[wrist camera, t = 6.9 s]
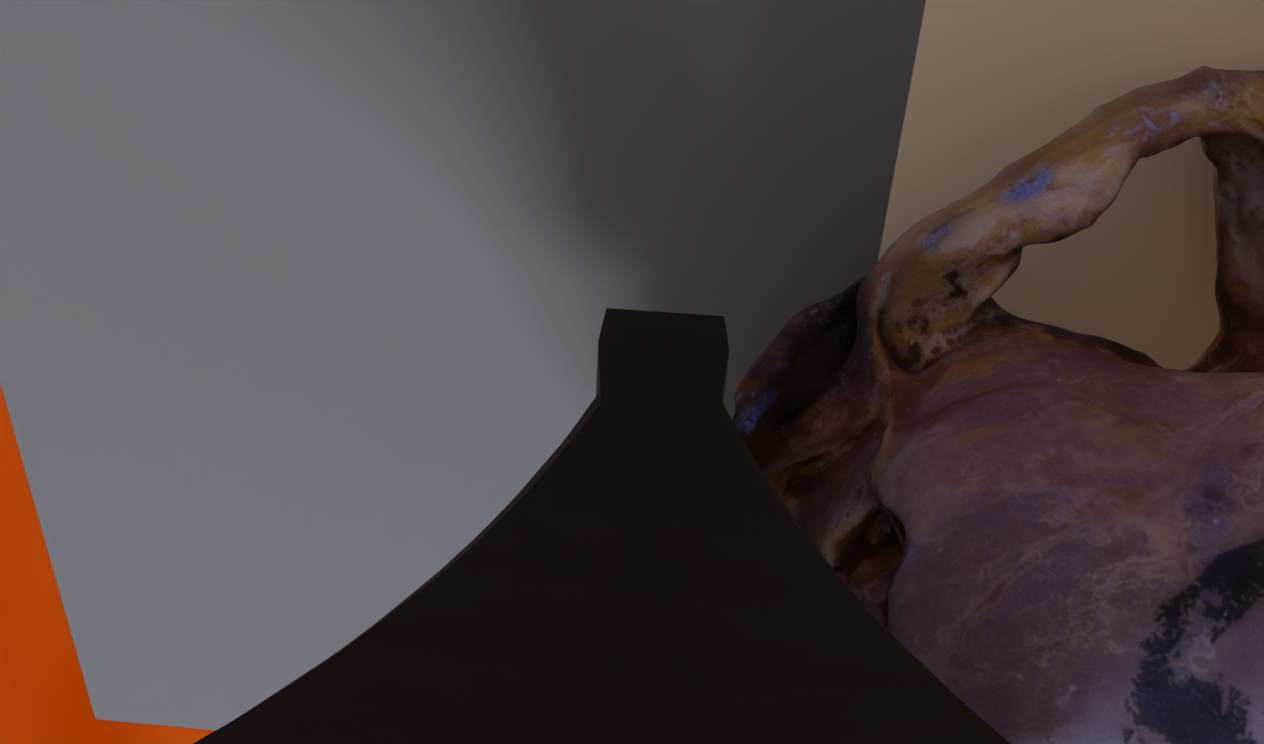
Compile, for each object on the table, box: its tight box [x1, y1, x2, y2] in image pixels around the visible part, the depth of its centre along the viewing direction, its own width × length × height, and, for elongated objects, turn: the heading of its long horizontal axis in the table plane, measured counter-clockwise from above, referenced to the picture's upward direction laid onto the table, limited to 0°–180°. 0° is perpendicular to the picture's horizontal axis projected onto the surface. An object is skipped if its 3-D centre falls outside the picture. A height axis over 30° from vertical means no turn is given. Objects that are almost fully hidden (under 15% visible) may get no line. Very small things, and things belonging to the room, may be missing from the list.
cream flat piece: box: [0, 0, 1264, 730], centre depth 10 cm, size 18×14×3 cm
